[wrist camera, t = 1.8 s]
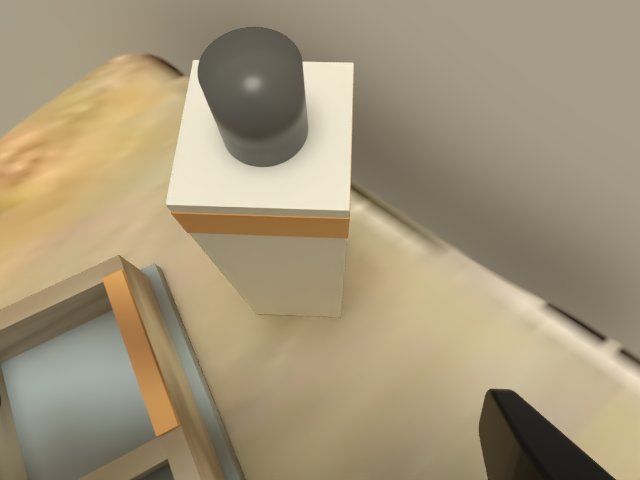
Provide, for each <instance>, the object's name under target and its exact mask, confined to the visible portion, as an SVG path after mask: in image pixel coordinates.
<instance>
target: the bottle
mask: <svg viewBox="0 0 640 480" xmlns="http://www.w3.org/2000/svg"><path fill="white" fill-rule="evenodd" d="M353 77H354V74H353V63H334V62H333V63H332V62H329V63H328V62H302V57H301V54H300V52H299V50H298V48H297V46H296V45H295V44H294V43H293V42H292V41H291V40H290V39H289V38H288V37H287V36H285V35H283V34H281V33H280V32H277V31H275V30H272V29H268V28H263V27H246V28H240V29H237V30H233V31H230V32H228V33H226V34H224V35H222V36H220V37H219V38H217V39H216V40H215V41H213V42H212V43H211V44H210V45H209V46H208V47H207V48H206V50H205V51H204V53H203V54H202V56H201V58H200V60H193V65H192V70H191V75H190V80H189V86H188V91H187V96H186V101H185V106H184V112H183V117H182V122H181V127H180V133H179V138H178V143H177V148H176V153H175V159H174V164H173V169H172V174H171V180H170V185H169V190H168V195H167V200H166V206H167V207H168V208H169V209H170V211H171V214H172V215H173V216H174V217H175V219H176V220H177V221H178V222H179V223H180V224H181V226H182V227H183V228H184V229H185V230H186V232H187V233H190V235H191V236H192V237H193V238H194V239H195V241H196V242H197V243H198V244H199V245H200V247H201V248H202V249H203V250H204V252H205V253H206V254H207V255H208V256H209V258H210V259H211V260H212V261H213V262H214V264H215V265H216V266H217V267H218V268H219V270H220V271H221V272H222V273H223V274H224V276H225V277H226V278H227V279H228V280H229V282H230V283H231V284H232V285H233V286H234V288H235V289H236V290H237V291H238V293H239V294H240V295H241V296H242V297H243V299H244V300H245V301H246V302H247V303H248V305H249V306H250V307H251V308H252V309H253V311H254V312H255V313H256V314H271V315H294V316H317V317H340V318H341V309H342V296H343V284H344V271H345V259H346V246H347V238H348V232H349V221H350V188H351V150H352V115H353Z"/></svg>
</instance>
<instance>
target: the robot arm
mask: <svg viewBox="0 0 640 480" xmlns="http://www.w3.org/2000/svg"><path fill="white" fill-rule="evenodd" d="M0 406H1V395H0ZM479 437H480V442H481V447H482V452H483V457H484V462H485V467H486V472H487V477H488V480H616V479H615V478H613V477H612V476H611V475H610V474H609V473H608V472H607V471H605V470H604V469H603V468H602V467H601V466H600V465H599V464H597V463H596V462H595V461H594V460H593V459H592V458H590V457H589V456H588V455H587V454H586V453H585V452H584V451H582V450H581V449H580V448H579V447H578V446H577V445H576V444H574V443H573V442H572V441H571V440H570V439H569V438H567V437H566V436H565V435H564V434H563V433H562V432H561V431H559V430H558V429H557V428H556V427H555V426H554V425H553V424H551V423H550V422H549V421H548V420H547V419H546V418H545V417H543V416H542V415H541V414H540V413H539V412H538V411H536V410H535V409H534V408H533V407H532V406H531V405H530V404H528V403H527V402H526V401H525V400H524V399H523V398H522V397H520V396H519V395H518V394H517V393H516V392H514V391H512V390H509V389H489V390H488V391H487V392H486V395H485V399H484V403H483V408H482V412H481V417H480V421H479Z"/></svg>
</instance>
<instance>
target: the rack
mask: <svg viewBox="0 0 640 480" xmlns="http://www.w3.org/2000/svg"><path fill="white" fill-rule="evenodd" d="M0 395H1V406H0V480H245V478H244V476H243V473H242V471H241V468H240V466H239V463H238V461H237V458H236V456H235V453H234V451H233V448H232V446H231V443H230V441H229V438H228V436H227V433H226V431H225V428H224V426H223V423H222V421H221V418H220V416H219V413H218V410H217V408H216V405H215V403H214V400H213V398H212V395H211V393H210V390H209V388H208V385H207V383H206V380H205V378H204V375H203V373H202V370H201V368H200V365H199V363H198V360H197V358H196V355H195V353H194V350H193V348H192V345H191V343H190V340H189V338H188V335H187V333H186V330H185V328H184V325H183V323H182V320H181V318H180V315H179V313H178V310H177V308H176V305H175V303H174V300H173V298H172V295H171V293H170V290H169V288H168V285H167V282H166V280H165V277H164V275H163V272H162V270H161V268H160V267H158V266H157V265H156V264H153V265H151V266H149V267H147V268H145V269H142V270H139V269H138V268H136V267H135V266H134V265H132V264H131V263H129V262H128V261H126V260H125V259H124V258H122V257H121V256H119V255H118V256H115V257H113V258H111V259H109V260H107V261H105V262H102V263H100V264H98V265H96V266H94V267H92V268H90V269H87V270H85V271H83V272H81V273H79V274H77V275H74V276H72V277H70V278H68V279H66V280H64V281H61V282H59V283H57V284H55V285H53V286H51V287H48V288H46V289H44V290H42V291H40V292H38V293H35V294H33V295H31V296H29V297H27V298H25V299H23V300H20V301H18V302H16V303H14V304H12V305H10V306H7V307H5V308H3V309H1V310H0Z"/></svg>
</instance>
